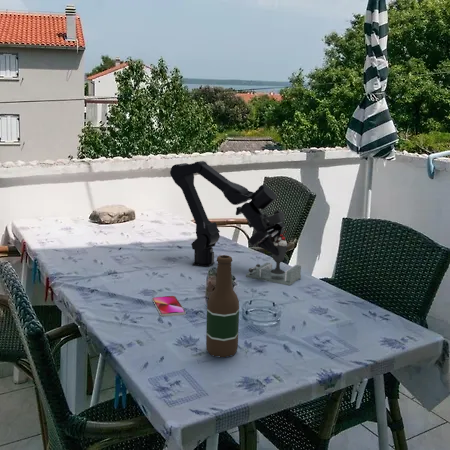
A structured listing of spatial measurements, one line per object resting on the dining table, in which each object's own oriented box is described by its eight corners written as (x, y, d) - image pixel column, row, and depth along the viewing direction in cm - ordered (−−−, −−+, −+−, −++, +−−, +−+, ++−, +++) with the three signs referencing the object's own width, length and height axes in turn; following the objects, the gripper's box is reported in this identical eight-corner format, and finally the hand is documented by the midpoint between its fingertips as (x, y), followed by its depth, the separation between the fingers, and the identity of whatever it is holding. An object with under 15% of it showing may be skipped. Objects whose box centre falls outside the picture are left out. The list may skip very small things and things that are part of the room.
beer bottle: (205, 344, 138) (207, 252, 132) (236, 344, 138) (239, 252, 133) (206, 358, 130) (208, 261, 125) (239, 358, 131) (242, 261, 125)
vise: (245, 276, 192) (246, 264, 191) (258, 269, 200) (258, 257, 199) (289, 285, 184) (290, 272, 183) (300, 277, 193) (301, 265, 192)
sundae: (289, 274, 188) (292, 232, 185) (270, 275, 187) (272, 232, 184) (284, 269, 195) (287, 227, 191) (266, 269, 194) (268, 227, 190)
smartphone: (174, 295, 170) (186, 312, 156) (174, 298, 171) (186, 315, 157) (151, 297, 168) (161, 314, 154) (151, 300, 168) (161, 317, 154)
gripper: (259, 207, 180) (288, 245, 177) (282, 199, 196) (309, 234, 193) (236, 227, 185) (264, 264, 182) (261, 218, 201) (286, 252, 198)
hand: (282, 253), depth 189 cm, fingers closed on sundae, 6 cm apart
